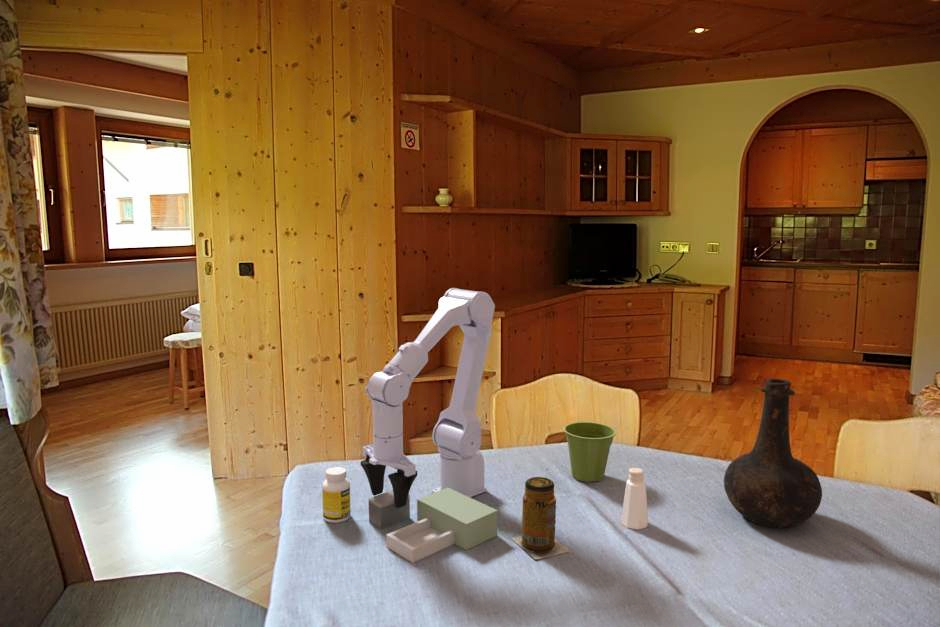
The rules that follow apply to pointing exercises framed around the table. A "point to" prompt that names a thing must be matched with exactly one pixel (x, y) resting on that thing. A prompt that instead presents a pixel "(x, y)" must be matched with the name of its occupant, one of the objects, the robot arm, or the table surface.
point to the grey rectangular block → (387, 510)
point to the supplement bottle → (336, 495)
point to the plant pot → (589, 449)
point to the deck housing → (444, 525)
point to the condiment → (539, 520)
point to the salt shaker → (635, 501)
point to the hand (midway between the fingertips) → (388, 499)
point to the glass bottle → (773, 470)
